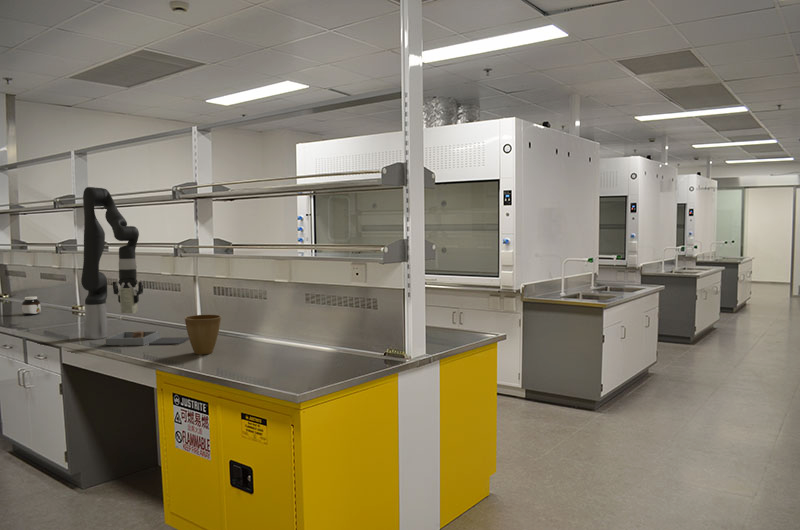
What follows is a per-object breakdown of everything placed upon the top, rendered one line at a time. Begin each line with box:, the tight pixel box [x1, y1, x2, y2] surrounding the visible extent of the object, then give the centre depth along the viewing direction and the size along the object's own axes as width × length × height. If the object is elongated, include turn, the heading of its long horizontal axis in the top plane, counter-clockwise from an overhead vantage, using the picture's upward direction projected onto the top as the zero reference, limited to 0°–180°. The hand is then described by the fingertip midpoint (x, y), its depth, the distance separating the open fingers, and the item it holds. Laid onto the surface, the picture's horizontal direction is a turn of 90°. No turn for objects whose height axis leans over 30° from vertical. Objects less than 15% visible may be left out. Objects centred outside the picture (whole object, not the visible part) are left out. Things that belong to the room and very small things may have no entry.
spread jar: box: [21, 296, 42, 317], centre depth 362 cm, size 12×11×12 cm
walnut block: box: [132, 330, 144, 338], centre depth 274 cm, size 4×4×4 cm
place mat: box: [148, 336, 189, 346], centre depth 268 cm, size 14×14×1 cm
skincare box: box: [119, 286, 139, 314], centre depth 265 cm, size 6×4×12 cm
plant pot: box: [184, 314, 222, 356], centre depth 243 cm, size 15×15×16 cm
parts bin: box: [105, 330, 161, 346], centre depth 269 cm, size 18×18×4 cm
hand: (128, 303), depth 265 cm, fingers closed on skincare box, 6 cm apart
